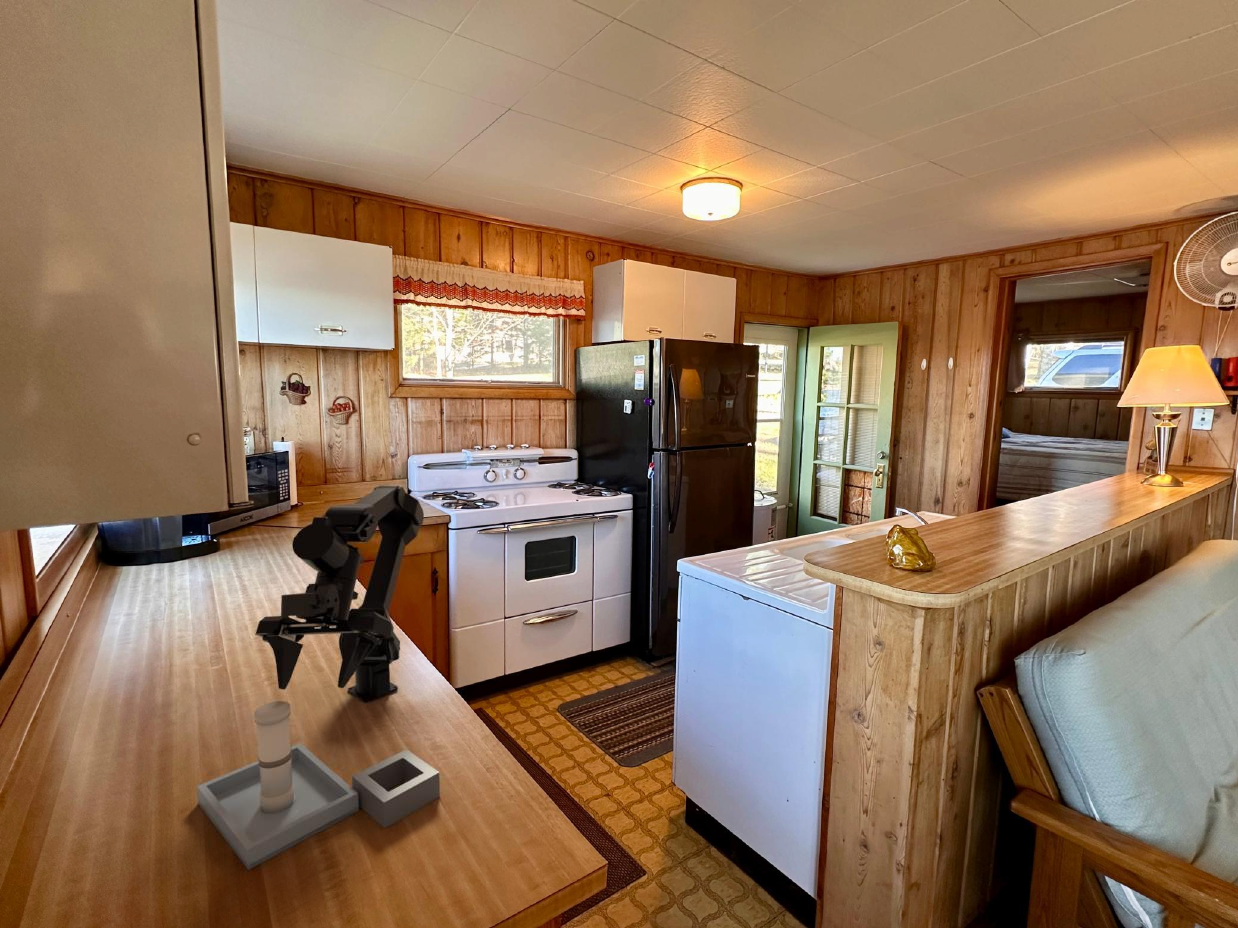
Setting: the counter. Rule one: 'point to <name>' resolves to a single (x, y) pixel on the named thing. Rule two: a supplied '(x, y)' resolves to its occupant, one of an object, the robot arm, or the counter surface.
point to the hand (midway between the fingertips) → (311, 688)
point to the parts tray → (270, 834)
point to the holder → (402, 799)
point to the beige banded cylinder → (274, 757)
